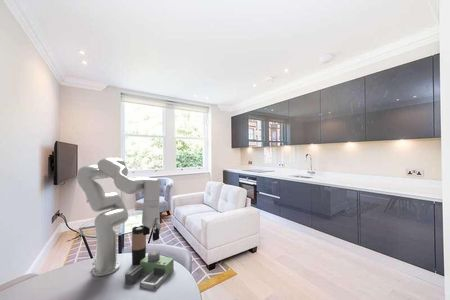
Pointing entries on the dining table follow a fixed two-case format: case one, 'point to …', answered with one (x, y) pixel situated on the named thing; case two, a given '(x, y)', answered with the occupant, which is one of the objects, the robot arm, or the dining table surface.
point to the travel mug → (138, 245)
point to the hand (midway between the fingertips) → (151, 237)
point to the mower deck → (155, 269)
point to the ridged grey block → (133, 275)
